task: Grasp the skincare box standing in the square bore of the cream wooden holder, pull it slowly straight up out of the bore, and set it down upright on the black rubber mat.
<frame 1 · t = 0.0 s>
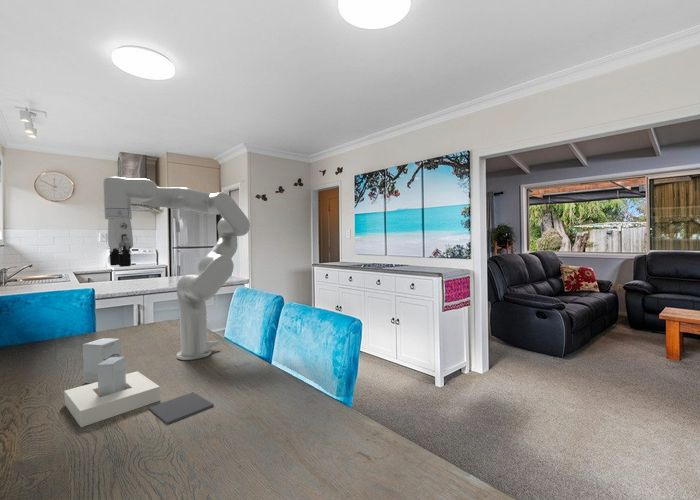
hand: (120, 265, 117), 37 cm above the table, tool pointing down, fingers open, 9 cm apart
supplement box: (103, 380, 114), on the table
bore holder: (113, 402, 97), on the table
skincare box: (113, 403, 97), resting in bore holder
rubber mat: (181, 407, 94), on the table
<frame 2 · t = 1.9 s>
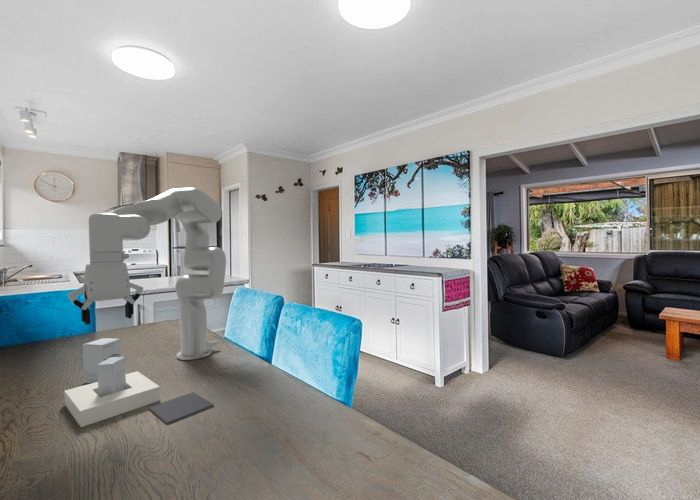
hand: (108, 320, 96), 23 cm above the table, tool pointing down, fingers open, 9 cm apart
nothing on the table moved.
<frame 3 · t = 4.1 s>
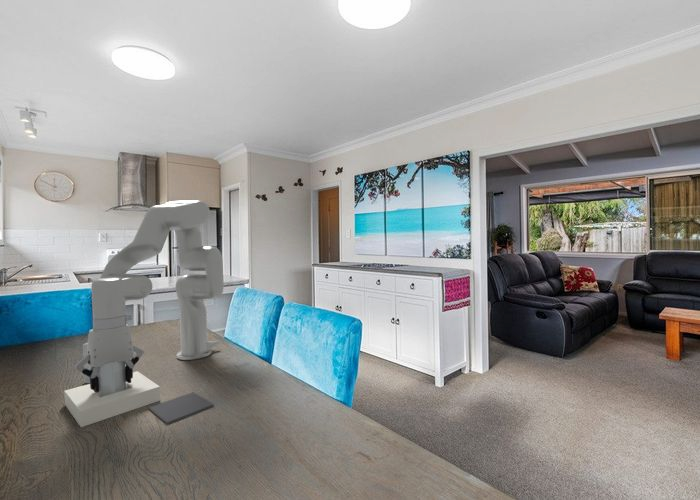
hand: (112, 385, 97), 5 cm above the table, tool pointing down, fingers closed on skincare box, 7 cm apart
skincare box: (113, 403, 97), resting in bore holder, touching gripper
everything else where it was.
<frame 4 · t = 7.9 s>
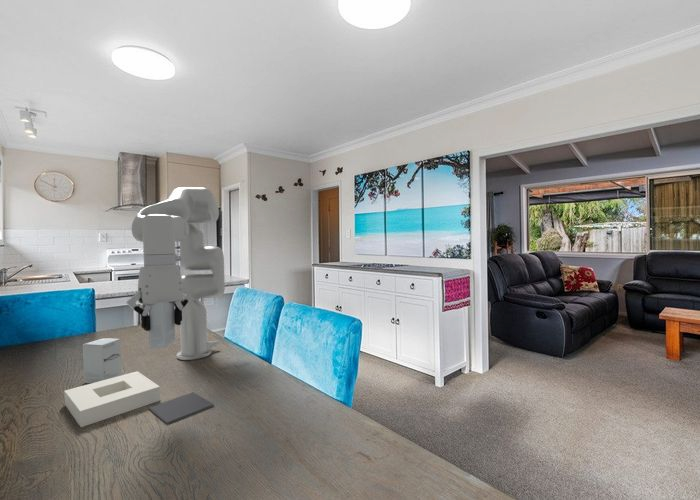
hand: (162, 326, 94), 22 cm above the table, tool pointing down, fingers closed on skincare box, 7 cm apart
skincare box: (162, 345, 94), point 17 cm above the table, touching gripper
everything else where it was.
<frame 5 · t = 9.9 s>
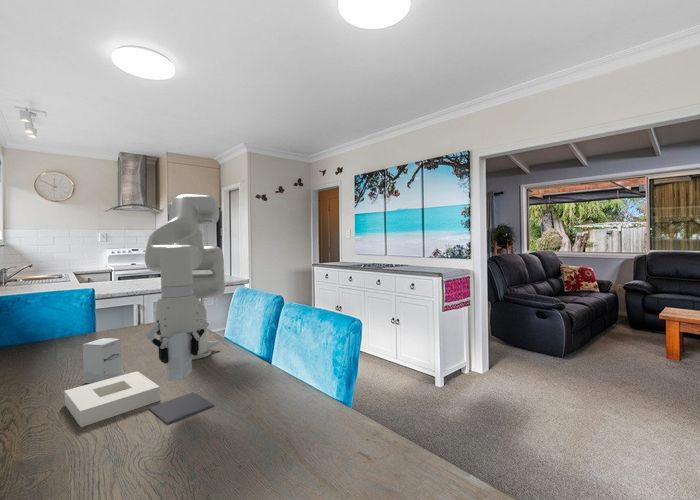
hand: (179, 357, 93), 14 cm above the table, tool pointing down, fingers closed on skincare box, 7 cm apart
skincare box: (179, 376, 93), point 8 cm above the table, touching gripper
everything else where it was.
when the fingers open (7 cm above the table, at t = 11.7 s): skincare box drops 1 cm, resting on rubber mat.
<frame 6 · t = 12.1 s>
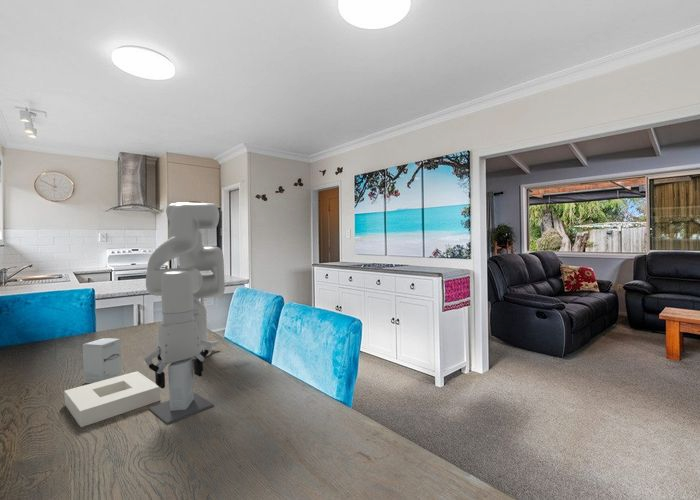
hand: (180, 380, 93), 7 cm above the table, tool pointing down, fingers open, 9 cm apart
skincare box: (182, 406, 94), resting on rubber mat
everything else where it was.
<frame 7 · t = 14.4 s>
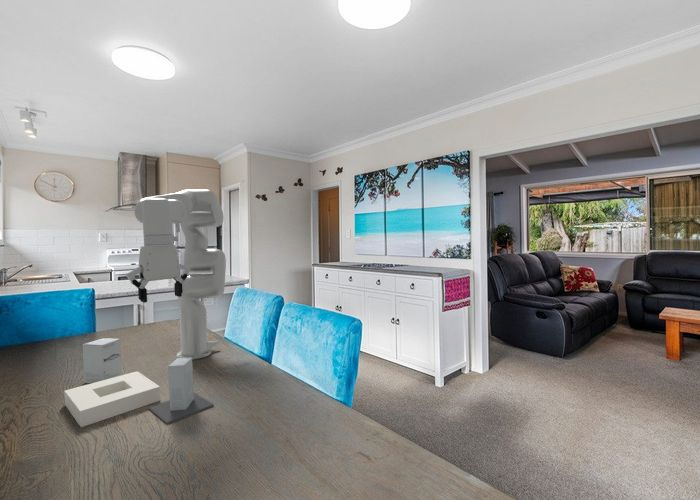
hand: (161, 298, 103), 28 cm above the table, tool pointing down, fingers open, 9 cm apart
nothing on the table moved.
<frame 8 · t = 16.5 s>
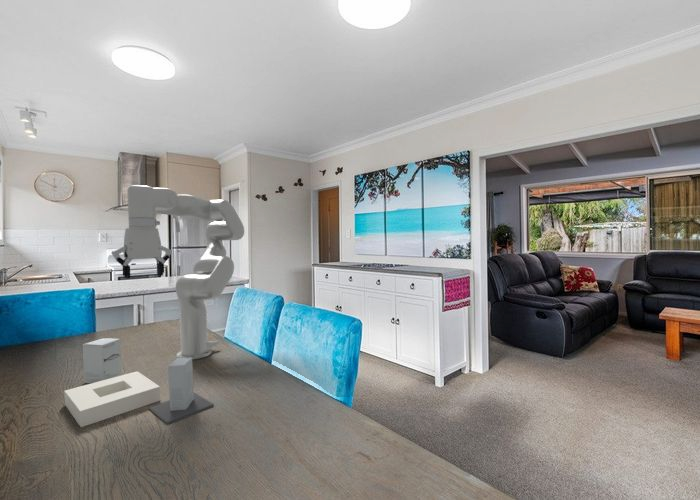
hand: (144, 276, 114), 33 cm above the table, tool pointing down, fingers open, 9 cm apart
nothing on the table moved.
at the end: skincare box inside the target area on the rubber mat (0.3 cm from its centre), point 0.3 cm above the rubber mat's base; skincare box tilted 0°; the gripper is holding nothing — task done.
